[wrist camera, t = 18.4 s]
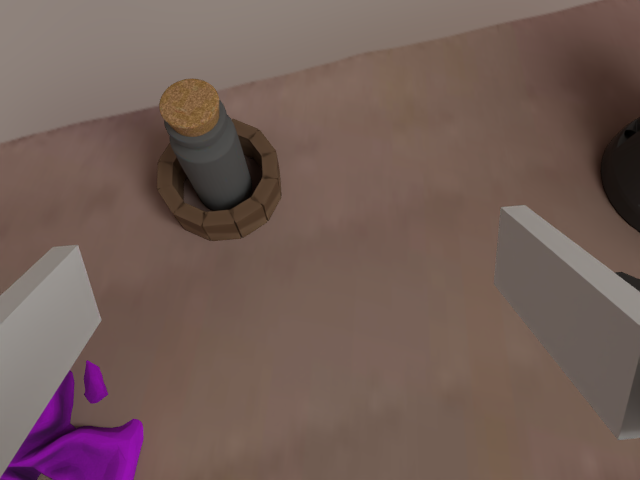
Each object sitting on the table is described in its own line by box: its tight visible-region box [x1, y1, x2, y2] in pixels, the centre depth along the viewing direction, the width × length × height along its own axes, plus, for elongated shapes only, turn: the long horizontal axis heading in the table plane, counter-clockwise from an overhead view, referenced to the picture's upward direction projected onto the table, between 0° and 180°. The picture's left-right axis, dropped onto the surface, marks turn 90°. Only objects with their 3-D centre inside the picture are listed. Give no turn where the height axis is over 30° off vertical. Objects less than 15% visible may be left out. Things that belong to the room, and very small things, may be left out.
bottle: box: [159, 79, 252, 211], centre depth 44 cm, size 6×6×15 cm
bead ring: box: [157, 119, 281, 241], centre depth 49 cm, size 12×12×4 cm
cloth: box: [0, 360, 143, 480], centre depth 41 cm, size 22×19×6 cm
